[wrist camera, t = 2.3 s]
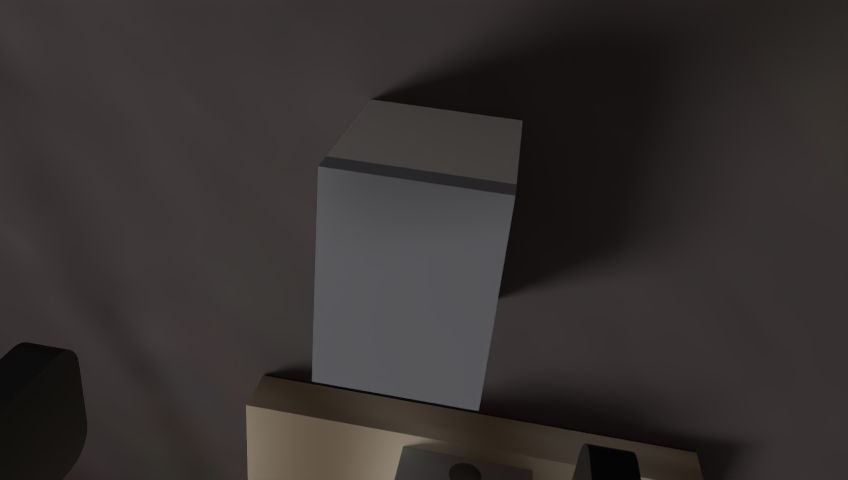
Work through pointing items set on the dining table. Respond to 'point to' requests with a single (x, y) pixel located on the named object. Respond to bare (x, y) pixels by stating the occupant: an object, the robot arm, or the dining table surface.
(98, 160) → the dining table surface
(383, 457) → the cable board
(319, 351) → the grey rectangular block
